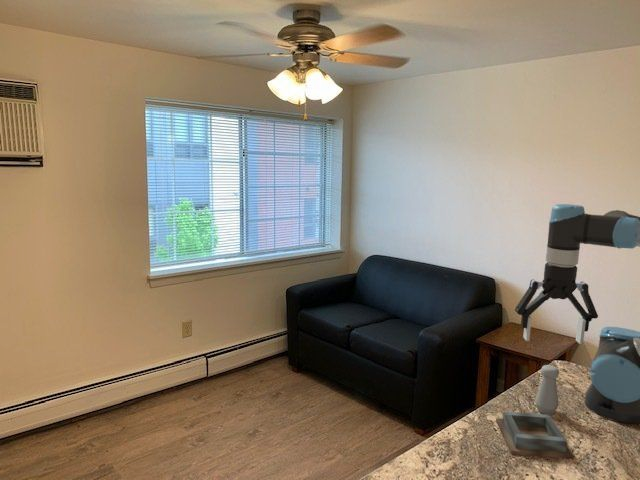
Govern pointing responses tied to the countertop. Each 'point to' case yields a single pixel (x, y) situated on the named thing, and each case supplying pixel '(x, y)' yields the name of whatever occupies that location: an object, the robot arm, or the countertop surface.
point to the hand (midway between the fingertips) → (552, 340)
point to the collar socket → (533, 435)
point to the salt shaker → (548, 391)
